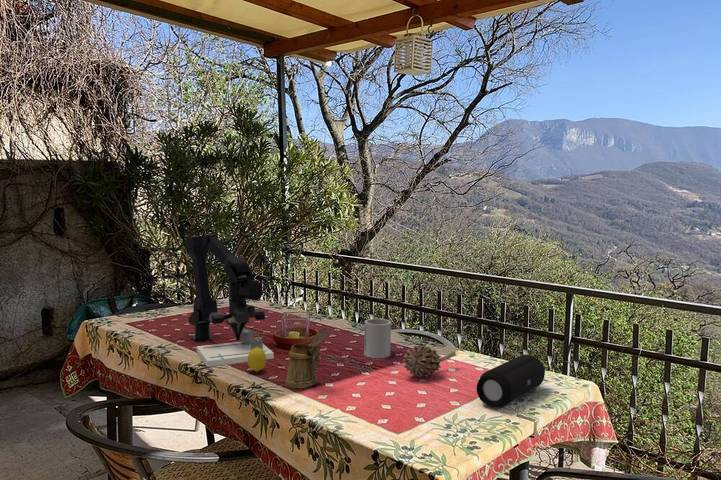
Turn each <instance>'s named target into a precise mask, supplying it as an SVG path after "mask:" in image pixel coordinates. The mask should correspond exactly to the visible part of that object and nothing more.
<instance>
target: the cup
mask: <svg viewBox="0 0 721 480" xmlns="http://www.w3.org/2000/svg"><path fill="white" fill-rule="evenodd" d="M391 333H392V321H391V320H389V319H385V318H368V319H366V320H364V333H363V335H364V337H363V338H364V339H363V340H364V341H363V344H364V345H363V356H364V355H365V356H367V357H371V358H385V357H388V356H390V357H391V345H392V344H391V342H392V341H391V340H392V339H391V336H392V334H391ZM365 356H364V357H365Z"/></svg>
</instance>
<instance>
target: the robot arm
mask: <svg viewBox="0 0 721 480" xmlns="http://www.w3.org/2000/svg"><path fill="white" fill-rule="evenodd" d="M184 247H185V251H186V254H187V255H188V257H189V258H190V259H191V262H192V269H193V278H194V287H195V295H196V296H195V297H196V299H195V301H194V303H193V306H192V307H193V311H192V313H191V315H190V316H189V317H188V324H189V325H190V326H194V336H192V337H191V338H192V339H193V341H194V342H207V341H213V337H212V336H211V324H213V325H217V324H218V325H219V324H223V322H224V321H225V323H226V324H227V325H229V326H230V328H231V329H232V333H233V335H234V338H235V340H236V341H239V340H240V339H241V333H242V330H244V327H245V326H246V325H247V324H249V323H250V319H252V318H254V319H255V320H256V321H262V320H265V319H266V312H264V310H262V309H261V308H258V309H257V308H255V306H254V305H252V306H251V305H250V306H248V305H247V300H251V301H254V302H257V301H259V300H261V298H262V296H263V293H264V290H263V287H262V286H261V284H259V280H256V279H255V277H254V275H253V274H254V273H252V271H251V268H250V266H249V263H248V262H247V261H246V260H244V259H243V258H242V257H239V256H237V255H234V253H232V251H231V250H230V249H229V248H228V246H226V245H225V244H224V243H223V242H222V241H221V240H220V239H219V236H218V234H216V233H208V234H207V233H205V234H202V235H190V236H188V237H187V238H186V239H185V240H184ZM209 252H211V253H212V254H214V256H215V257H216V258H217V259H218V260H219V261H220V263H221V264H222V266H223V269H222V270H223V271H224V273H225V274H226V276H227V279H226V280H225V281H224V282H225V284H228V288H229V289H228V290H229V291H228V306H229V307H228V308H229V309H228V314H227V313H226V314H223V313H222V312H221V311H220V312H219V308H218V302H217V301H218V300H217V299H214V298H213V297H212V296H211V290H210V289H211V288H210V284H209V283H210V282H209V276H208V266H207V256H208V254H209Z"/></svg>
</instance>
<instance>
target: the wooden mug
mask: <svg viewBox="0 0 721 480" xmlns="http://www.w3.org/2000/svg"><path fill="white" fill-rule="evenodd" d="M327 336H328V329H327V328H326V327H325V328H323V329H321V330H320V331H318V332H317V333H316V334H315V335H313V337H312V338H311V340H310V342H309V344H308V343H304V342H303V343H301V342H300V343H295V344H292V345H291V348H290V351H289V360H288V361H289V362H288V369H287V375H286V377H285V386H287V387H289V388H292V389H308V388H312V387H314V386H315V385H317V383H318V381H317V380H318V379H317V378H318V377H317V375H316V369H317V368H318V366H319V363H320V361H321V353H320V348H319V345H320V344H322V342H324V340H325V338H326V337H327Z"/></svg>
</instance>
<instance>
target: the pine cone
mask: <svg viewBox="0 0 721 480" xmlns="http://www.w3.org/2000/svg"><path fill="white" fill-rule="evenodd" d="M406 351H407V353H405V354H404V355H403V358H404V359H403V360H402V362H403V363H404V364H405V365H404V366H403V368H405V371H408V372H409V374H412V376H414V375H416V377H418V378H419V377H423V376H424V375H425V376H424V377H428V376H429V375H430V376H432V375H434V374H435V373H436V372H439V371H440V370H439V369H440V368H441V365H440V363H442V362H444V361H446V360H449V359H452V357H453V358H454V357H457V353H458V351H457V350H451V351H450V352H449V353H448V354H446V355H444V356H441V355H439V353H437V350H436V349H432V348H431V347H430V346H425V345H421V344H419V345H418V346H417V345H415V346H414V347H413V348H411V349H410V348H409V349H407V350H406Z"/></svg>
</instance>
